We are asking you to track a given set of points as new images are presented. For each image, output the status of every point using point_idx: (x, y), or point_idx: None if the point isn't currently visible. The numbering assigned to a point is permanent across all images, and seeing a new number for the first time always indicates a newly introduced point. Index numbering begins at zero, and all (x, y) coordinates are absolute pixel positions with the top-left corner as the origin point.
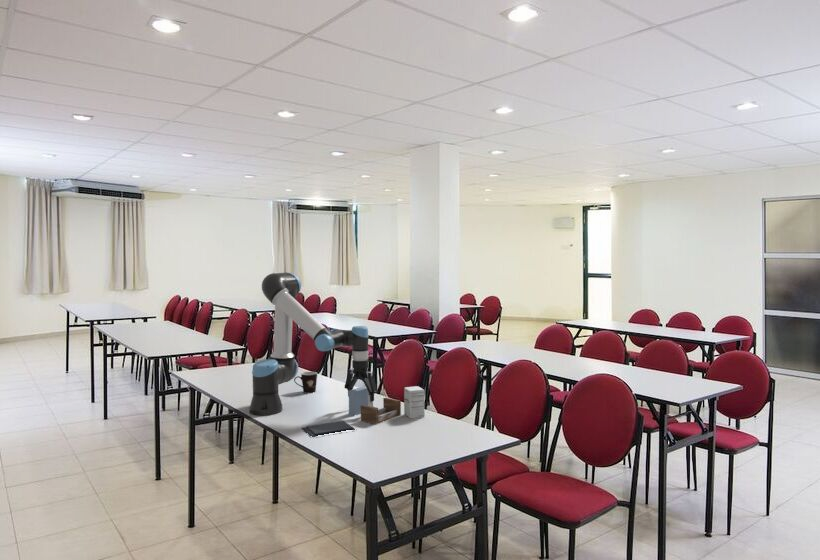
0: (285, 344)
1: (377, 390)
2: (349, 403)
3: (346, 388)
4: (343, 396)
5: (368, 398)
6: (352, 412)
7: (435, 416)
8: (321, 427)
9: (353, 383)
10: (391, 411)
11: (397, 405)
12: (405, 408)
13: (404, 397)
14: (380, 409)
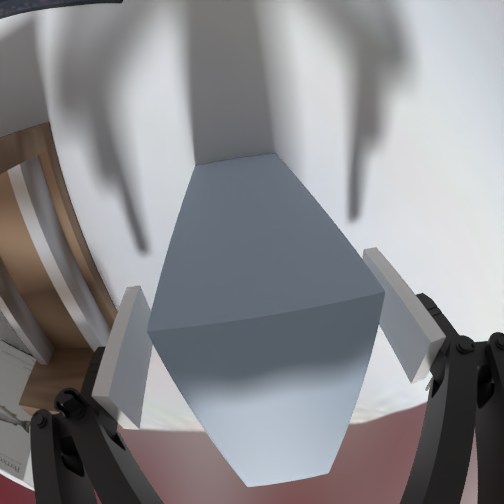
0: None
1: (64, 455)
2: (287, 182)
3: (484, 342)
4: (484, 331)
5: (111, 358)
6: (231, 164)
7: None
8: None
9: (429, 452)
10: (22, 334)
11: (30, 384)
12: None
13: (29, 434)
14: (80, 326)
